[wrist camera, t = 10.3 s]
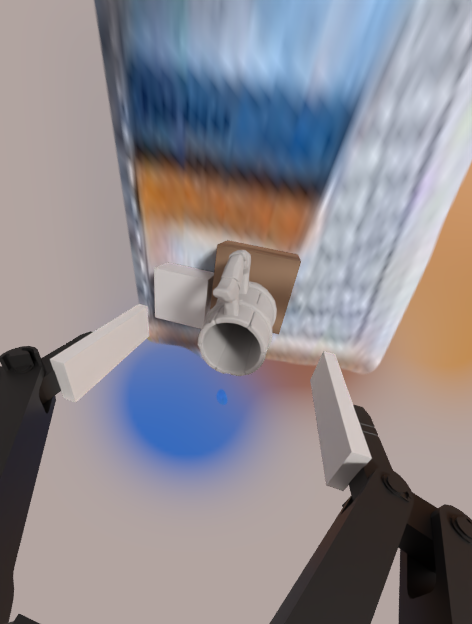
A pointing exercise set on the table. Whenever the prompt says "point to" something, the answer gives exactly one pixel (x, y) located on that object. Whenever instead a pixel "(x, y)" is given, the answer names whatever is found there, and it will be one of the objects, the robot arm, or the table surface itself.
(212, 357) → the mug
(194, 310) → the grey block
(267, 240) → the table surface
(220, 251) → the walnut block
